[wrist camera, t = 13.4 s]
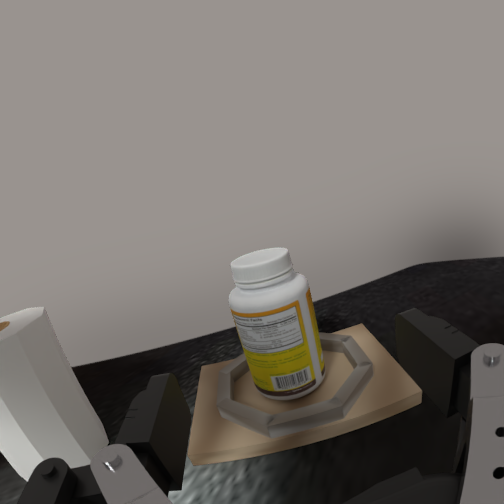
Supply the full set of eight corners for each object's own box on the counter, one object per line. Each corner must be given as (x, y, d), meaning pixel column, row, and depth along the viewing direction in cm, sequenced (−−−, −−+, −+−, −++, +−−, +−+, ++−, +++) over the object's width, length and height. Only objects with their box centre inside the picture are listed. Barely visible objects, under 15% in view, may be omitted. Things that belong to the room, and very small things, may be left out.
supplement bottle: (289, 355, 27) (261, 244, 25) (340, 370, 22) (317, 241, 20) (241, 389, 23) (202, 269, 21) (293, 414, 19) (255, 272, 17)
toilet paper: (70, 409, 26) (19, 305, 24) (130, 435, 21) (65, 304, 19) (5, 458, 17) (-61, 347, 15) (52, 508, 13) (-50, 368, 10)
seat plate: (193, 465, 17) (180, 443, 17) (205, 376, 29) (197, 355, 29) (421, 403, 17) (422, 377, 17) (363, 333, 29) (360, 312, 29)
